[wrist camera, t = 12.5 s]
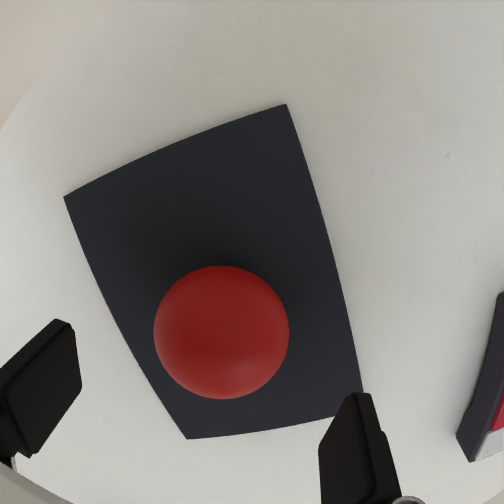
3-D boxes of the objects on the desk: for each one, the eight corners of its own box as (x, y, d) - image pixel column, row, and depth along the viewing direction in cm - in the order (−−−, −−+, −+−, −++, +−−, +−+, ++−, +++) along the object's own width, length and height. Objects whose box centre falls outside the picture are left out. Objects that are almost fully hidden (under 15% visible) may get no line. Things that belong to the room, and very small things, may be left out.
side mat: (66, 195, 17) (62, 196, 17) (286, 104, 15) (286, 103, 15) (187, 436, 22) (186, 439, 22) (365, 403, 20) (366, 407, 20)
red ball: (159, 263, 18) (105, 327, 12) (268, 230, 16) (257, 292, 10) (202, 352, 20) (175, 429, 14) (302, 331, 18) (304, 416, 12)
